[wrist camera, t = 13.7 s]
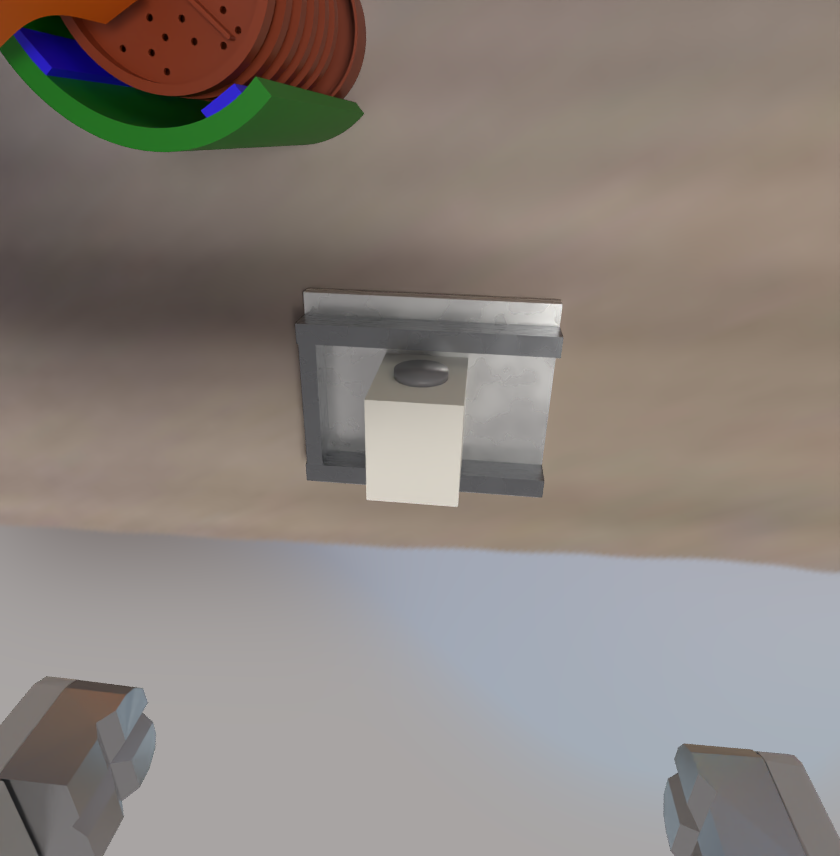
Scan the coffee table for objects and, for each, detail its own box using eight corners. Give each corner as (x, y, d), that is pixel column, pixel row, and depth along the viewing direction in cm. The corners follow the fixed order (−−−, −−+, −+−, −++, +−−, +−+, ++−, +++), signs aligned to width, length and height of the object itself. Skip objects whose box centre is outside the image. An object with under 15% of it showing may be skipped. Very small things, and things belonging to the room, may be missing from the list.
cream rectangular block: (386, 440, 39) (366, 499, 33) (385, 346, 36) (364, 391, 30) (462, 445, 39) (457, 506, 32) (468, 350, 36) (464, 397, 29)
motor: (412, 71, 30) (303, -9, 13) (287, 185, 34) (59, 249, 16) (277, -132, 27) (-116, -611, 10) (153, 14, 31) (-317, -145, 13)
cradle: (319, 473, 42) (308, 497, 39) (308, 288, 36) (293, 300, 33) (536, 489, 41) (539, 514, 38) (560, 299, 35) (566, 314, 32)
